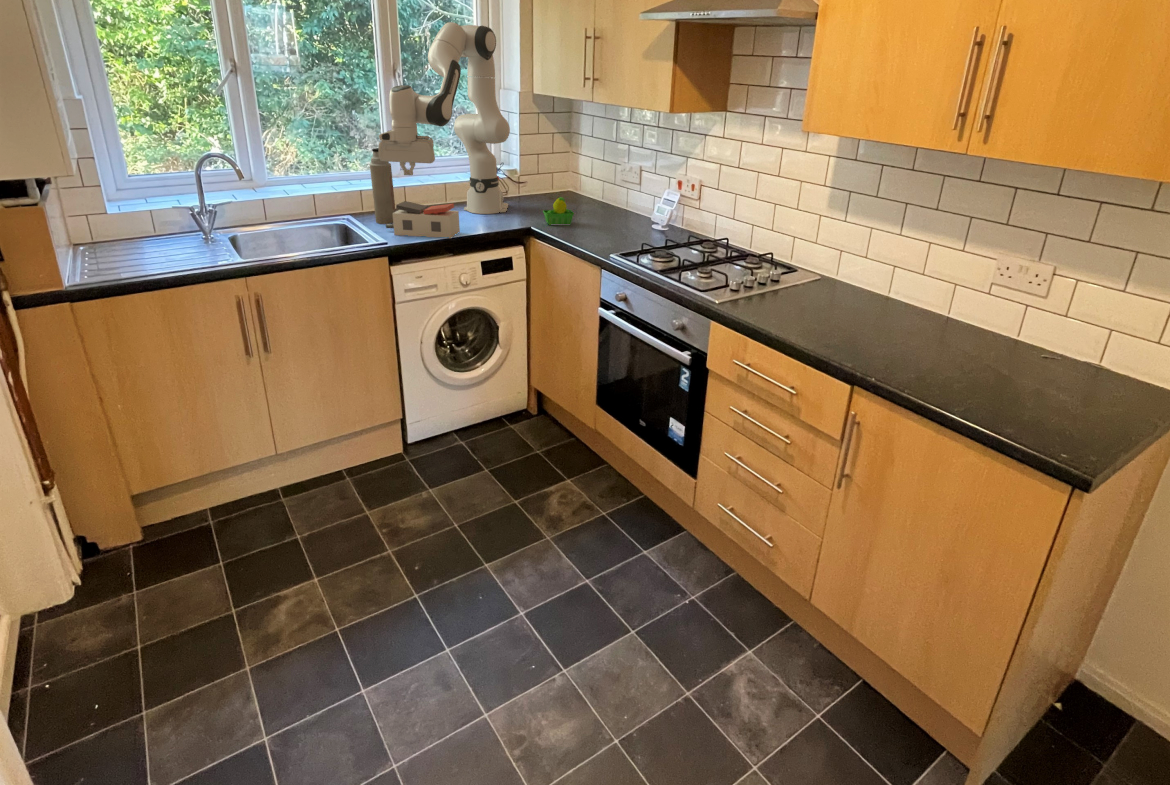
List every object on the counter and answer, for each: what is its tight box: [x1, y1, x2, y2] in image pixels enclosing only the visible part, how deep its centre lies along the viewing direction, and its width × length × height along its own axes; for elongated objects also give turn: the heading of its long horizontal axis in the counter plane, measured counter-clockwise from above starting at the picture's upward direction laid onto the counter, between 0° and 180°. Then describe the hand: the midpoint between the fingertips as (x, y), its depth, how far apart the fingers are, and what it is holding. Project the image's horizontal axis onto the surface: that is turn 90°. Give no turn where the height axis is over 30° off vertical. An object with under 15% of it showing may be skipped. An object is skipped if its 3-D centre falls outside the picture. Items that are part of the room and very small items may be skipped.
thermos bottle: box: [369, 147, 397, 225], centre depth 279 cm, size 8×8×28 cm
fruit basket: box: [542, 196, 574, 225], centre depth 283 cm, size 11×9×11 cm
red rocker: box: [423, 203, 455, 214], centre depth 263 cm, size 8×9×2 cm
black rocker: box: [395, 200, 429, 214], centre depth 265 cm, size 8×9×2 cm
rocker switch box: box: [385, 209, 461, 239], centre depth 267 cm, size 10×27×8 cm, turn 81°
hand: (408, 175), depth 260 cm, fingers closed
